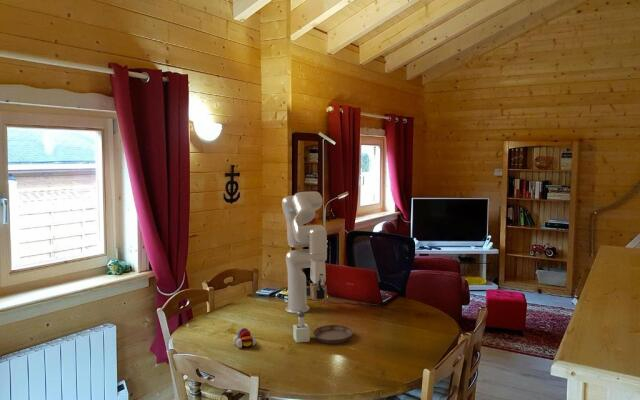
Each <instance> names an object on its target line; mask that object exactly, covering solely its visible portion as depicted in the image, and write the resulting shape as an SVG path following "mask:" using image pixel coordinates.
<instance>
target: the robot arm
mask: <svg viewBox="0 0 640 400" xmlns="http://www.w3.org/2000/svg"><path fill="white" fill-rule="evenodd" d="M322 206H323V197H322V195H321V194H320V192H318V191H314V190H313V191H300V192H296V193H294V195H288V196H287V195H286V196H285V197H283V198H282V200H281V208H282V212H283V215H284V218H285V221H286V236H287V244H288V246H289V247H290V248H304V247H305V249H294V250H289V251H288V252H287V253H286V255H285V263H286V270H287V305H286V306H285V309H284V310H285V311H286V312H287V313H288V314H289V313H290V314H298V312H299V311H303V312H304V313H307V312H309V311H310V309H311V308H310V306H309V305H308V303H307V277H306V274H305V272H304V271H303V270H302V269H307V268H310V271H309V272H310V273H309V274H310V277H309V278H310V281H312V283H315V284H316V283H317V288H318V290H317V299H324V284H326V279H327V276H326V274H327V273H326V272H327V271H326V261H327V259H328V247H327V246H328V243H327V241H328V240H327V239H328V237H327V236H328V235H327V229H326V228H325V227H324V226H323V225H321V224H314V225H313V224H311V225H305V224H308V223H310V222H311V221H312V220H313V219H314V218H315V216H316V211H317V210H319V209H321V208H322ZM307 247H308V248H307ZM306 248H307V249H306ZM319 284H320V286H319Z"/></svg>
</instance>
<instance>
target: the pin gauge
mask: <svg viewBox="0 0 640 400" xmlns="http://www.w3.org/2000/svg"><path fill="white" fill-rule="evenodd" d="M297 317H298V318H297V320H298V327H299V328H304V324H305V319H304V318H305V312H303V311H299V312H298V313H297Z"/></svg>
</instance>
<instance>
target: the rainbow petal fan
mask: <svg viewBox="0 0 640 400" xmlns="http://www.w3.org/2000/svg"><path fill="white" fill-rule="evenodd" d="M251 333H252V332H251V331H249V329H248V328H246V327H243V328H241V329H239V330H238V331H237V334H235V336H233V338H232V341H233V342H232V343H233V344H234V345H236V347H237V348H239V349H242V348H243V346H244V347H250V346H251V347H253V346H255V345H256V343H257V339H256V337H255V336H253V335H252V334H251Z"/></svg>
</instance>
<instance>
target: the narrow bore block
mask: <svg viewBox="0 0 640 400" xmlns="http://www.w3.org/2000/svg"><path fill="white" fill-rule="evenodd" d="M319 286H320V284H319ZM327 287H328V286H327V285H326V283H324V299H317V290H318V288H317V283H316V284H315V283H313V282H310V289H309V290H310V292H309V293H310V295H309V296H310V297H309V298H311V299H312V300H313V301H321V300H322V301H323V300H328V288H327Z"/></svg>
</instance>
